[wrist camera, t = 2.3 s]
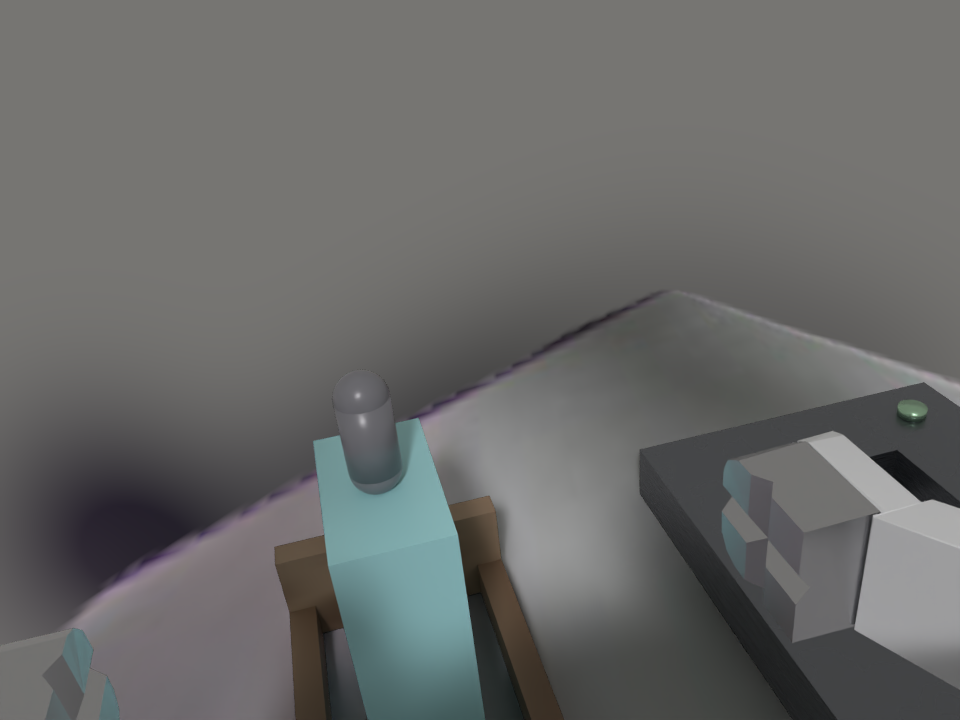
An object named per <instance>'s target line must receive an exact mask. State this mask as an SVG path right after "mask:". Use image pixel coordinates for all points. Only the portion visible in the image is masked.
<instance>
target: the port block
mask: <svg viewBox="0 0 960 720" xmlns="http://www.w3.org/2000/svg"><path fill="white" fill-rule="evenodd" d="M831 431H834V432H837V433H840V434H843V435H844V436H845V437H846V438H848V439H849V440H850V441H851V442H852V443H853V444H855V445H856V446H857V447H858V448H859V449H860V450H861V451H863V452H864V453H865V454H866V455H867V456H868V457H870V458H871V459H872V460H873V461H874V462H875V463H877V464H878V465H879V466H880V467H881V468H882V469H884V470H885V471H886V472H887V473H888V474H889V475H890V476H892V477H893V478H894V479H895V480H896V481H897V482H899V483H900V484H901V485H902V486H903V487H904V488H906V489H907V490H908V491H909V492H910V493H911V494H913V495H914V496H915V497H916V498H917V499H918V500H919V501H921V502H925V501H928V500H935V501H938V502H942V503H945V504H948V505H951V506H954V507H957V508H960V407H959V406H957V405H956V404H955V403H953V402H952V401H950V400H949V399H947V398H946V397H944V396H943V395H942V394H940V393H939V392H937V391H936V390H934V389H933V388H931V387H930V386H928V385H927V384H926V383H919V384H915V385H911V386H907V387H902V388H898V389H894V390H890V391H886V392H881V393H877V394H873V395H869V396H864V397H860V398H856V399H852V400H848V401H843V402H839V403H835V404H831V405H826V406H822V407H818V408H814V409H810V410H805V411H801V412H797V413H793V414H788V415H784V416H780V417H776V418H771V419H767V420H763V421H759V422H755V423H750V424H746V425H742V426H738V427H733V428H729V429H725V430H721V431H717V432H712V433H708V434H704V435H700V436H695V437H691V438H687V439H683V440H679V441H674V442H670V443H666V444H662V445H657V446H653V447H649V448H645V449H640V494H641V496H642V497H643V499H644V500H645V502H646V503H647V505H648V506H649V507H650V509H651V510H652V512H653V513H654V515H655V516H656V518H657V519H658V521H659V522H660V524H661V525H662V527H663V528H664V530H665V531H666V533H667V534H668V536H669V537H670V538H671V540H672V541H673V543H674V544H675V546H676V547H677V549H678V550H679V552H680V553H681V555H682V556H683V558H684V559H685V561H686V562H687V564H688V565H689V567H690V568H691V569H692V571H693V572H694V574H695V575H696V577H697V578H698V580H699V581H700V583H701V584H702V586H703V587H704V589H705V590H706V592H707V593H708V595H709V596H710V598H711V599H712V601H713V602H714V603H715V605H716V606H717V608H718V609H719V611H720V612H721V614H722V615H723V617H724V618H725V620H726V621H727V623H728V624H729V626H730V627H731V629H732V630H733V632H734V633H735V634H736V636H737V637H738V639H739V640H740V642H741V643H742V645H743V646H744V648H745V649H746V651H747V652H748V654H749V655H750V657H751V658H752V660H753V661H754V663H755V664H756V665H757V667H758V668H759V670H760V671H761V673H762V674H763V676H764V677H765V679H766V680H767V682H768V683H769V685H770V686H771V688H772V689H773V691H774V692H775V694H776V695H777V697H778V698H779V699H780V701H781V702H782V704H783V705H784V707H785V708H786V710H787V711H788V713H789V714H790V716H791V717H792V719H793V720H960V690H959V689H958V688H956V687H954V686H952V685H951V684H949V683H947V682H945V681H944V680H942V679H940V678H938V677H937V676H935V675H933V674H931V673H930V672H928V671H926V670H924V669H922V668H921V667H919V666H917V665H915V664H914V663H912V662H910V661H908V660H907V659H905V658H903V657H901V656H900V655H898V654H896V653H894V652H893V651H891V650H889V649H887V648H885V647H884V646H882V645H880V644H878V643H877V642H875V641H873V640H871V639H870V638H868V637H866V636H864V635H863V634H861V633H859V632H857V631H856V630H854V628H855V626H854V627H850V628H846V629H843V630H839V631H835V632H831V633H828V634H824V635H820V636H816V637H813V638H809V639H805V640H801V641H798V642H794V643H792V642H791V641H790V640H789V638H788V637H787V636H786V634H785V633H784V632H783V630H782V629H781V628H780V626H779V625H778V624H777V622H776V621H775V620H774V618H773V617H772V616H771V615H770V613H769V612H768V611H767V609H766V608H765V607H764V605H763V595H764V588H762V587H759V586H757V585H755V584H753V583H751V582H748V581H746V580H744V578H743V577H742V576H741V574H740V573H739V571H738V570H737V569H736V567H735V566H734V564H733V562H732V560H731V558H730V556H729V554H728V552H727V549H726V545H725V542H724V538H723V534H722V510H723V509H724V507H725V506H726V504H727V503H728V502H729V500H730V499H731V497H732V495H731V494H730V493H729V492H728V491H727V489H726V488H725V487H724V486H723V474H724V468H725V465H726V463H727V461H728V460H729V459H733V458H737V457H740V456H744V455H748V454H752V453H756V452H759V451H763V450H767V449H771V448H774V447H778V446H782V445H786V444H789V443H794V442H797V441H798V440H802V439H805V438H809V437H813V436H816V435H820V434H824V433H827V432H831Z"/></svg>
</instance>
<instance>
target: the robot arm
mask: <svg viewBox="0 0 960 720" xmlns="http://www.w3.org/2000/svg"><path fill="white" fill-rule="evenodd" d="M723 486H724V487H725V488H726V489H727V491H728V492H729V493H730V494H731V495H732V497H731V499H730V500H729V502H728V503H727V504H726V506H725V507H724V509H723V510H722V534H723V538H724V542H725V545H726V549H727V552H728V554H729V556H730V558H731V560H732V562H733V564H734V566H735V567H736V569H737V570H738V571H739V573H740V574H741V576H742V577H743V578H744V580H746V581H748V582H751V583H753V584H755V585H757V586H759V587H762V588H764V595H763V605H764V607H765V608H766V609H767V611H768V612H769V613H770V615H771V616H772V617H773V618H774V620H775V621H776V622H777V624H778V625H779V626H780V628H781V629H782V630H783V632H784V633H785V634H786V636H787V637H788V638H789V640H790V641H791V642H792V643H794V642H798V641H801V640H805V639H809V638H813V637H816V636H820V635H824V634H828V633H831V632H835V631H839V630H843V629H846V628H850V627H854V626H855V628H854V630H856V631H857V632H859V633H861V634H863V635H864V636H866V637H868V638H870V639H871V640H873V641H875V642H877V643H878V644H880V645H882V646H884V647H885V648H887V649H889V650H891V651H893V652H894V653H896V654H898V655H900V656H901V657H903V658H905V659H907V660H908V661H910V662H912V663H914V664H915V665H917V666H919V667H921V668H922V669H924V670H926V671H928V672H930V673H931V674H933V675H935V676H937V677H938V678H940V679H942V680H944V681H945V682H947V683H949V684H951V685H952V686H954V687H956V688H958V689H959V690H960V508H957V507H954V506H951V505H948V504H945V503H942V502H938V501H935V500H928V501H925V502H921V501H919V500H918V499H917V498H916V497H915V496H914V495H913V494H911V493H910V492H909V491H908V490H907V489H906V488H904V487H903V486H902V485H901V484H900V483H899V482H897V481H896V480H895V479H894V478H893V477H892V476H890V475H889V474H888V473H887V472H886V471H885V470H884V469H882V468H881V467H880V466H879V465H878V464H877V463H875V462H874V461H873V460H872V459H871V458H870V457H868V456H867V455H866V454H865V453H864V452H863V451H861V450H860V449H859V448H858V447H857V446H856V445H855V444H853V443H852V442H851V441H850V440H849V439H848V438H846V437H845V436H844V435H843V434H840V433H837V432H834V431H831V432H827V433H824V434H820V435H816V436H813V437H809V438H805V439H802V440H798V441H797V442H794V443H789V444H786V445H782V446H778V447H774V448H771V449H767V450H763V451H759V452H756V453H752V454H748V455H744V456H740V457H737V458H733V459H729V460H728V461H727V463H726V465H725V468H724V474H723ZM92 654H93V648H92V646H91V645H90V643H89V641H88V639H87V638H86V636H85V634H84V632H83V631H82V630H79V629H75V628H72V629H68V630H63V631H59V632H55V633H51V634H46V635H42V636H38V637H34V638H30V639H25V640H21V641H16V642H12V643H8V644H4V645H0V720H120V719H119V707H118V704H117V700H116V696H115V693H114V690H113V688H112V685H111V683H110V681H109V679H108V677H107V676H106V675H104V674H102V673H100V672H98V671H96V670H93V669H91V668H90V664H91V659H92Z"/></svg>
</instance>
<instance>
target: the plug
mask: <svg viewBox="0 0 960 720" xmlns="http://www.w3.org/2000/svg"><path fill="white" fill-rule="evenodd" d="M332 401H333V407H334V412H335V416H336V421H337V425H338V430H339V434H340V435H338V436H334V437H330V438H325V439H321V440H315V441H313V445H314V453H315V461H316V470H317V478H318V486H319V495H320V503H321V511H322V520H323V528H324V536H325V544H326V553H327V561H328V568H329V572H330V575H331V579H332V583H333V587H334V591H335V595H336V599H337V603H338V606H339V610H340V614H341V618H342V622H343V626H344V630H345V634H346V637H347V641H348V645H349V649H350V653H351V657H352V661H353V665H354V669H355V672H356V676H357V680H358V684H359V688H360V692H361V696H362V700H363V703H364V707H365V711H366V715H367V719H368V720H485V715H484V708H483V701H482V694H481V688H480V681H479V674H478V667H477V661H476V654H475V647H474V640H473V634H472V627H471V620H470V613H469V607H468V600H467V593H466V586H465V580H464V573H463V566H462V559H461V553H460V546H459V539H458V533H457V530H456V528H455V525H454V522H453V519H452V516H451V513H450V510H449V507H448V504H447V501H446V498H445V495H444V492H443V489H442V486H441V483H440V480H439V477H438V474H437V471H436V468H435V465H434V462H433V459H432V456H431V453H430V450H429V447H428V444H427V441H426V438H425V435H424V433H423V430H422V427H421V424H420V421H419V418H416V419H411V420H407V421H402V422H397V423H395V419H394V414H393V408H392V402H391V397H390V392H389V388H388V386H387V384H386V383H385V381H384V380H383V379H382V378H381V377H380V376H379V375H377V374H376V373H374V372H372V371H368V370H355V371H351V372H349V373H347V374H345V375H344V376H343V377H342V378H340V379H339V381H338V382H337V384H336V385H335V388H334V391H333V396H332Z"/></svg>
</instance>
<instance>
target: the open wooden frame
mask: <svg viewBox="0 0 960 720" xmlns="http://www.w3.org/2000/svg"><path fill="white" fill-rule="evenodd" d="M448 507H449V510H450V513H451V516H452V519H453V522H454V525H455V528H456V530H457V533H458V539H459V546H460V553H461V559H462V566H463V573H464V580H465V586H466V593H467V596H468V595H472V594H476V593H480V592H481V594H482V597H483V600H484V603H485V606H486V608H487V611H488V614H489V617H490V620H491V623H492V626H493V629H494V632H495V635H496V638H497V641H498V643H499V646H500V649H501V652H502V655H503V658H504V661H505V664H506V667H507V670H508V673H509V676H510V679H511V681H512V684H513V687H514V690H515V693H516V696H517V699H518V702H519V705H520V708H521V711H522V714H523V717H524V719H525V720H564V718H563V716H562V713H561V710H560V708H559V705H558V703H557V700H556V698H555V695H554V693H553V690H552V687H551V685H550V682H549V680H548V677H547V675H546V672H545V670H544V667H543V664H542V662H541V659H540V657H539V654H538V652H537V649H536V647H535V644H534V642H533V639H532V636H531V634H530V631H529V629H528V626H527V624H526V621H525V619H524V616H523V613H522V611H521V608H520V606H519V603H518V601H517V598H516V596H515V593H514V590H513V588H512V585H511V583H510V580H509V578H508V575H507V573H506V570H505V567H504V565H503V562H502V560H501V553H500V544H499V536H498V527H497V518H496V511H495V508H494V506H493V504H492V501H491V499H490V496H486V497H481V498H477V499H473V500H469V501H465V502H461V503H456V504H452V505H448ZM274 548H275V566H276V569H277V572H278V576H279V579H280V582H281V586H282V589H283V592H284V596H285V599H286V602H287V606H288V609H289V612H290V629H291V646H292V664H293V681H294V699H295V717H296V720H332V717H331V707H330V697H329V688H328V678H327V668H326V658H325V648H324V639H323V633H325V632H329V631H333V630H337V629H340V628H344V626H343V622H342V618H341V614H340V610H339V606H338V603H337V599H336V595H335V591H334V587H333V583H332V579H331V575H330V572H329V568H328V561H327V553H326V544H325V536H324V535H322V536H318V537H314V538H310V539H306V540H301V541H297V542H293V543H289V544H285V545H280V546H276V547H274Z"/></svg>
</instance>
